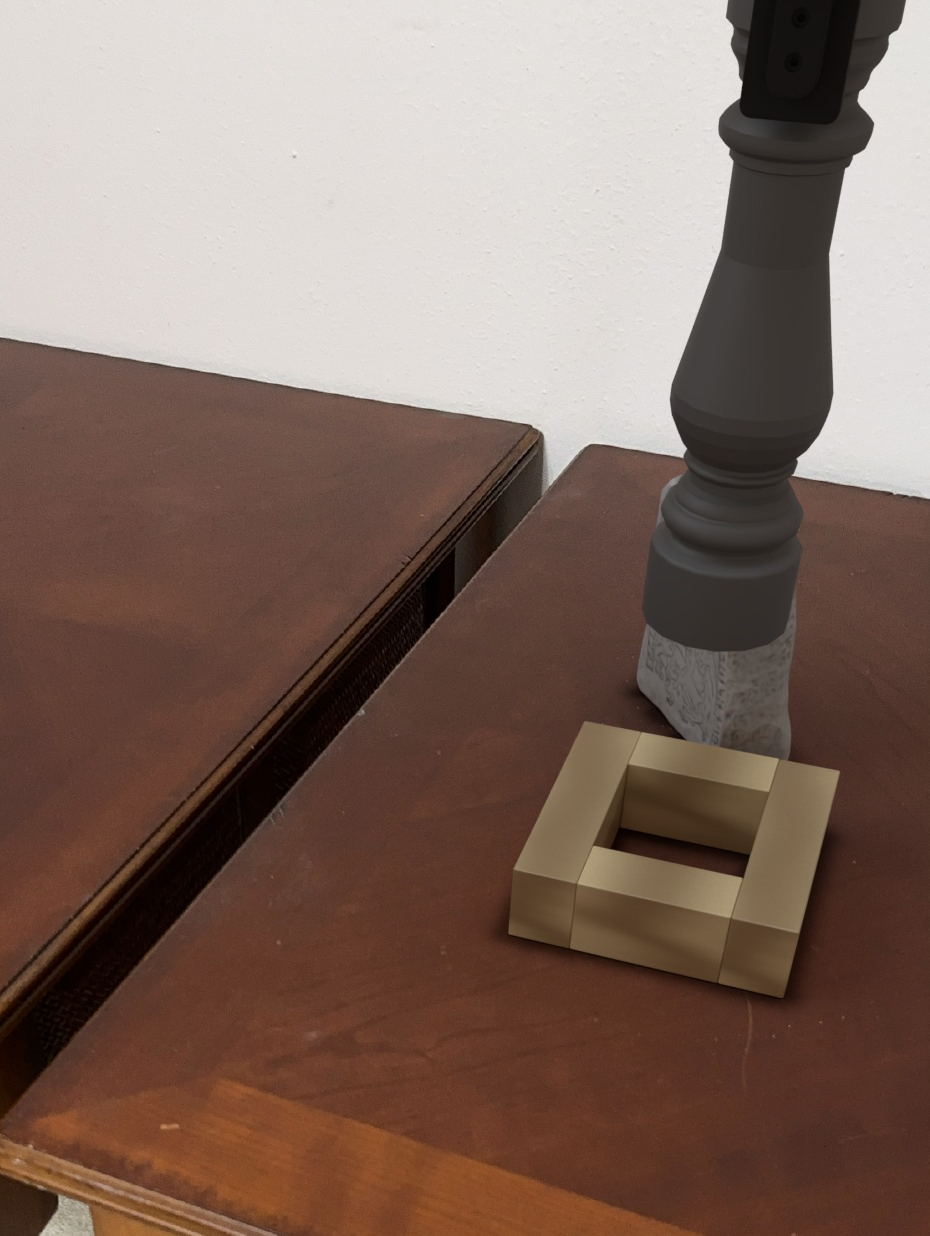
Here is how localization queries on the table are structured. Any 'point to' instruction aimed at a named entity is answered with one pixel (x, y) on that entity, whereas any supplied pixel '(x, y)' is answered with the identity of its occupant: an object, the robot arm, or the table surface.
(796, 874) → the socket stand
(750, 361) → the candle holder
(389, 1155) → the table surface
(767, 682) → the decorative stone
